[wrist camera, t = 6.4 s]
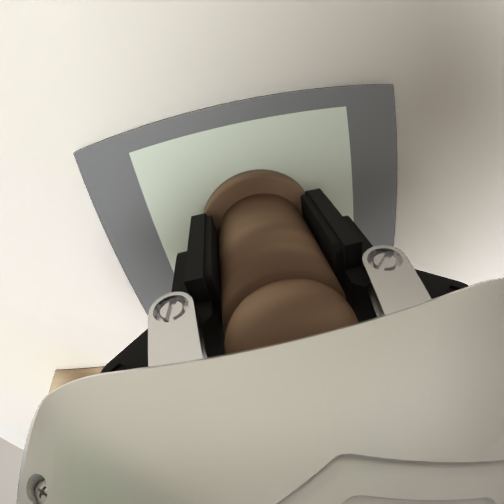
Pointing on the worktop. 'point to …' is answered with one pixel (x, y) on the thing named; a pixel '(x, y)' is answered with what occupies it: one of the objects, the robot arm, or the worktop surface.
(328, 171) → the board
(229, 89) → the worktop surface
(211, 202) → the pawn
